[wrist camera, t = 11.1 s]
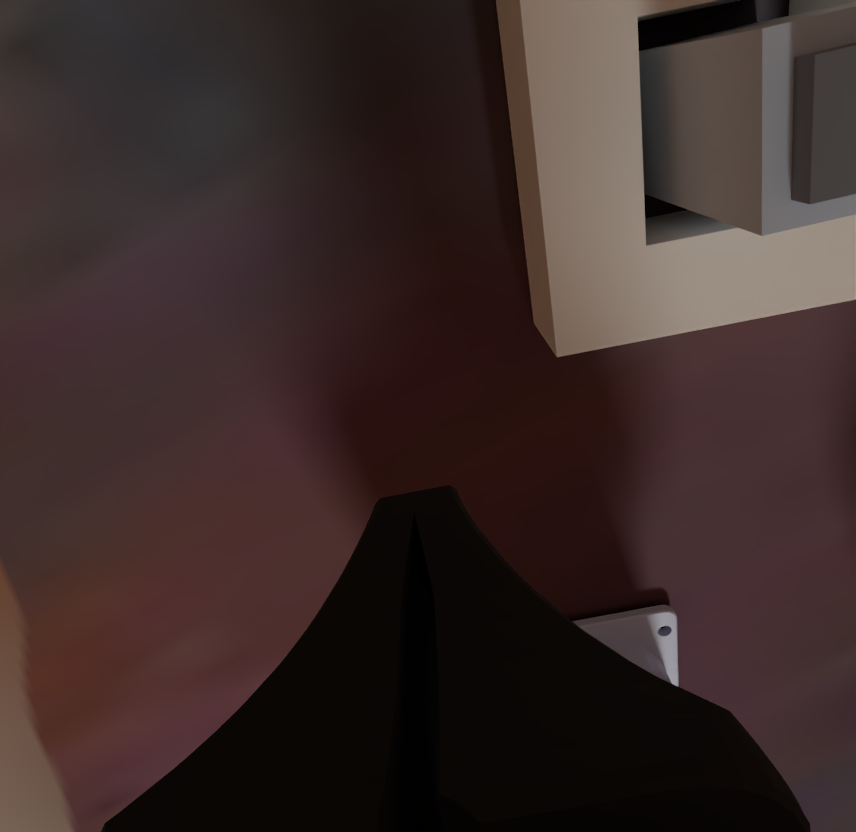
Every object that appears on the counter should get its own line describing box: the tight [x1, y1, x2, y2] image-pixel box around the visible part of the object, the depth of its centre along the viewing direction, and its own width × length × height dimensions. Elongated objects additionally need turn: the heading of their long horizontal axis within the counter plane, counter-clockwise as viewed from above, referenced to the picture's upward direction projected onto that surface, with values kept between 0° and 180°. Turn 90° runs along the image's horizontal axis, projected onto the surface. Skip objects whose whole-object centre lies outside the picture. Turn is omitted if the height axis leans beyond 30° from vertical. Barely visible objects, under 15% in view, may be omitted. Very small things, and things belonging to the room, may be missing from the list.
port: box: [496, 0, 856, 357], centre depth 17 cm, size 10×10×3 cm
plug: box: [639, 2, 856, 236], centre depth 15 cm, size 4×4×8 cm
